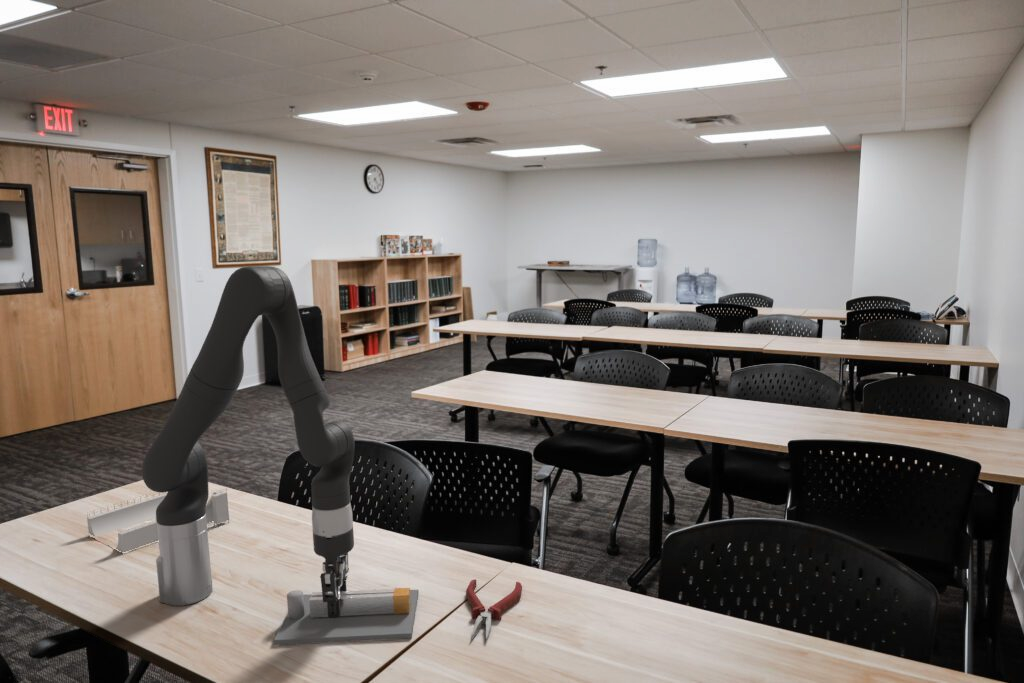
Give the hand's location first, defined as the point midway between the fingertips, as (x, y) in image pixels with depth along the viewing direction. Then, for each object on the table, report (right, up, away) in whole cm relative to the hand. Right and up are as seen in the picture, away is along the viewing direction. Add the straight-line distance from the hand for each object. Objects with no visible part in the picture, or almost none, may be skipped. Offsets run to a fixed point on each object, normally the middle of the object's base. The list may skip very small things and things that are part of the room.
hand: (337, 607), depth 131 cm
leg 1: (+4, -1, +1) cm, 5 cm away
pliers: (+28, -2, +3) cm, 28 cm away
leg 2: (+5, -1, 0) cm, 5 cm away
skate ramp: (-58, +2, +44) cm, 73 cm away
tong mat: (+3, -2, 0) cm, 3 cm away
